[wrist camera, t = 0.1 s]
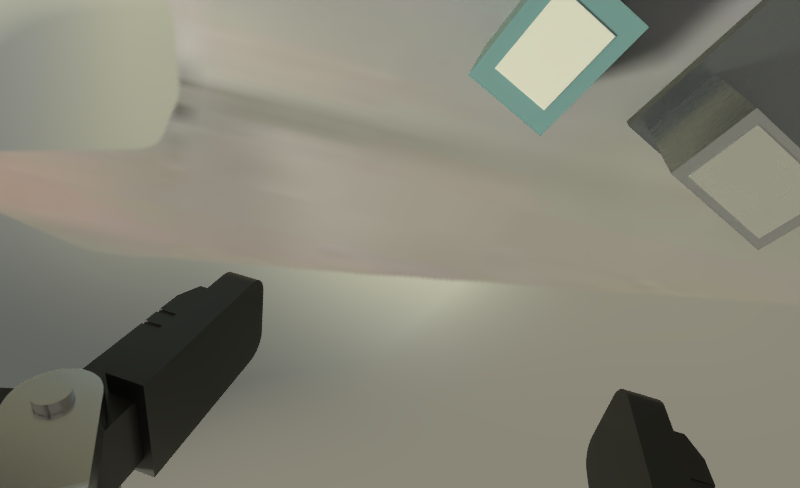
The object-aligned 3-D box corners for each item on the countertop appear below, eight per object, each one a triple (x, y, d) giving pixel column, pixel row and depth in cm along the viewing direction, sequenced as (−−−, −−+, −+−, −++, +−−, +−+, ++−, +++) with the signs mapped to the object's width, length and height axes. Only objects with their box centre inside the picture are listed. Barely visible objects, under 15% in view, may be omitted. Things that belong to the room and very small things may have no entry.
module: (562, -53, 24) (567, -50, 18) (625, 6, 24) (649, 27, 19) (484, 46, 27) (467, 75, 21) (542, 95, 28) (540, 136, 22)
